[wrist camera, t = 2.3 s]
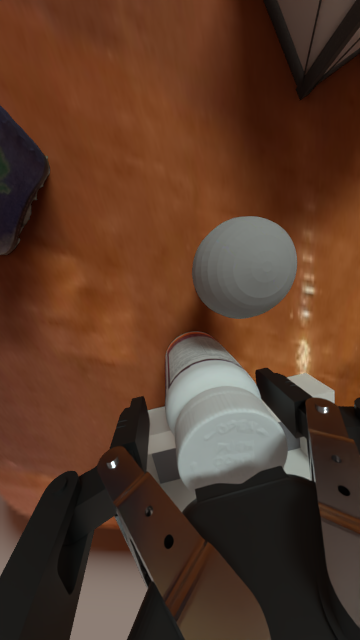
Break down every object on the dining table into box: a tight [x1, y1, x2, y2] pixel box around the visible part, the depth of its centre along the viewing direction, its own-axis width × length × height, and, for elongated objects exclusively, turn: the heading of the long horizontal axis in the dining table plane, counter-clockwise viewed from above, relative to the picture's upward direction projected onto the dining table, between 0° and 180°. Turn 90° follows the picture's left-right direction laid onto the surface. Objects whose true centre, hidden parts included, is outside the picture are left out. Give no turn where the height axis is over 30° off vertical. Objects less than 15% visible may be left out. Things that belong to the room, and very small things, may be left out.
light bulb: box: [192, 216, 297, 319], centre depth 12 cm, size 6×6×10 cm
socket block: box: [146, 373, 334, 512], centre depth 19 cm, size 21×12×4 cm, turn 101°
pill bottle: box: [165, 331, 288, 495], centre depth 13 cm, size 6×6×11 cm
